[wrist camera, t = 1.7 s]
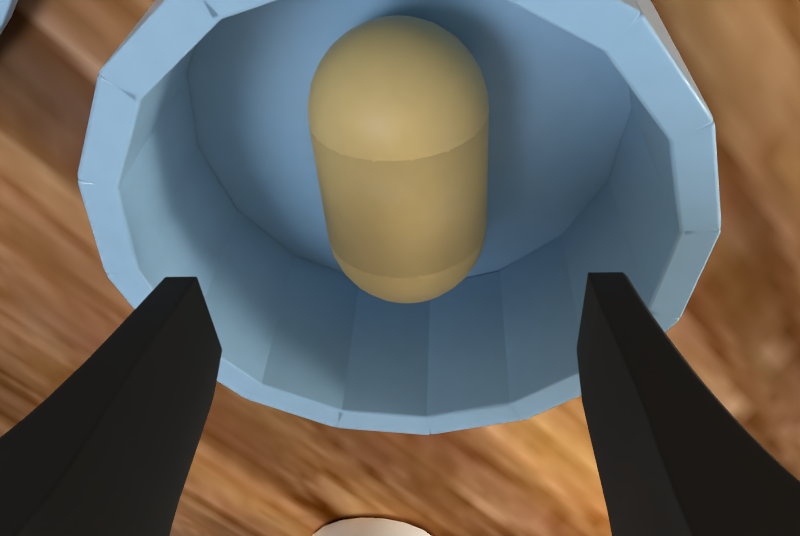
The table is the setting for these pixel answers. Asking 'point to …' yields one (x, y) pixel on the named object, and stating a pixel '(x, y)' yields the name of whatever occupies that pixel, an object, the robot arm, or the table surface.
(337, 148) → the potato
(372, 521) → the spray bottle
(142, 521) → the robot arm
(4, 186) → the table surface
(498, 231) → the pot
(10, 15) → the lid
